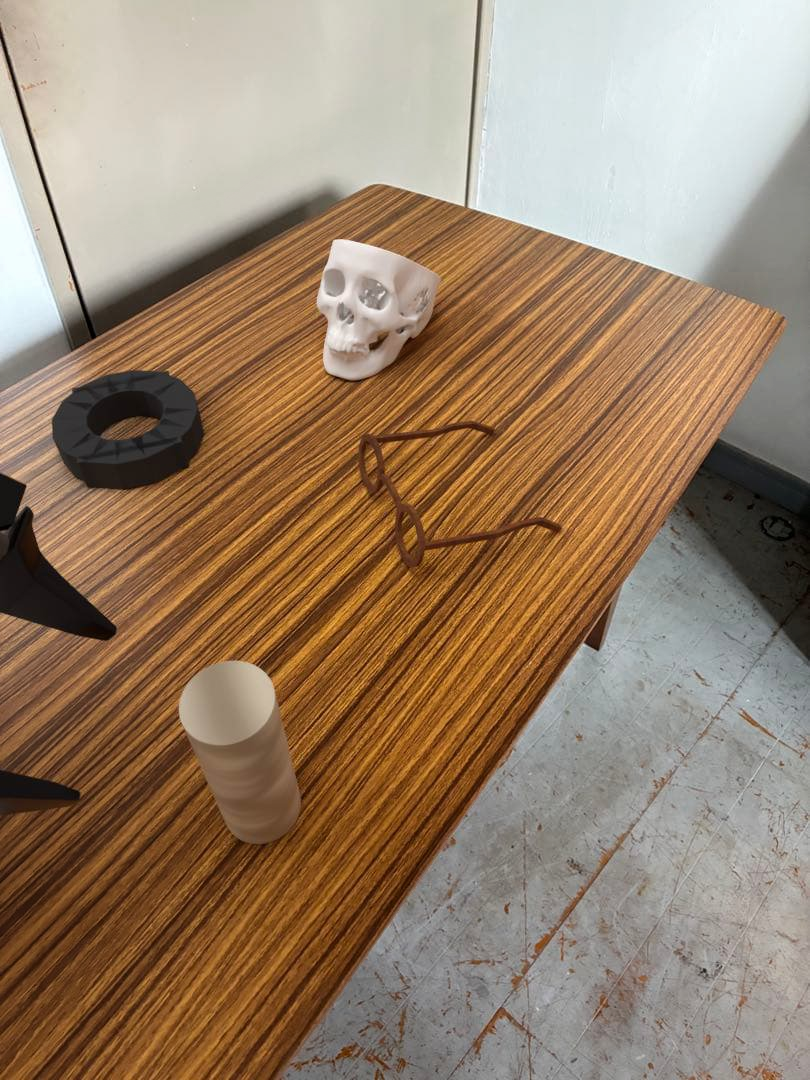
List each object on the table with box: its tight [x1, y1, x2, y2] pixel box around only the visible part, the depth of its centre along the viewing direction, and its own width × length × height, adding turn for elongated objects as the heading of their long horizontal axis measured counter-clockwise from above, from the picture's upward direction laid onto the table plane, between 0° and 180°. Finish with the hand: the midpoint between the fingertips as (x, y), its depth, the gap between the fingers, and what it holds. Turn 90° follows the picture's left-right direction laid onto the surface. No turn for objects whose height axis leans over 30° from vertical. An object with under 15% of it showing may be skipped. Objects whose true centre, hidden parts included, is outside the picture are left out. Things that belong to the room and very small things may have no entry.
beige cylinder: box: [178, 660, 302, 845], centre depth 46 cm, size 5×5×13 cm
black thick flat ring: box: [51, 369, 205, 490], centre depth 71 cm, size 12×12×3 cm
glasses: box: [357, 420, 564, 569], centre depth 66 cm, size 13×13×5 cm
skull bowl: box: [316, 238, 442, 381], centre depth 80 cm, size 10×14×12 cm
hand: (96, 711), depth 41 cm, fingers open, 9 cm apart
